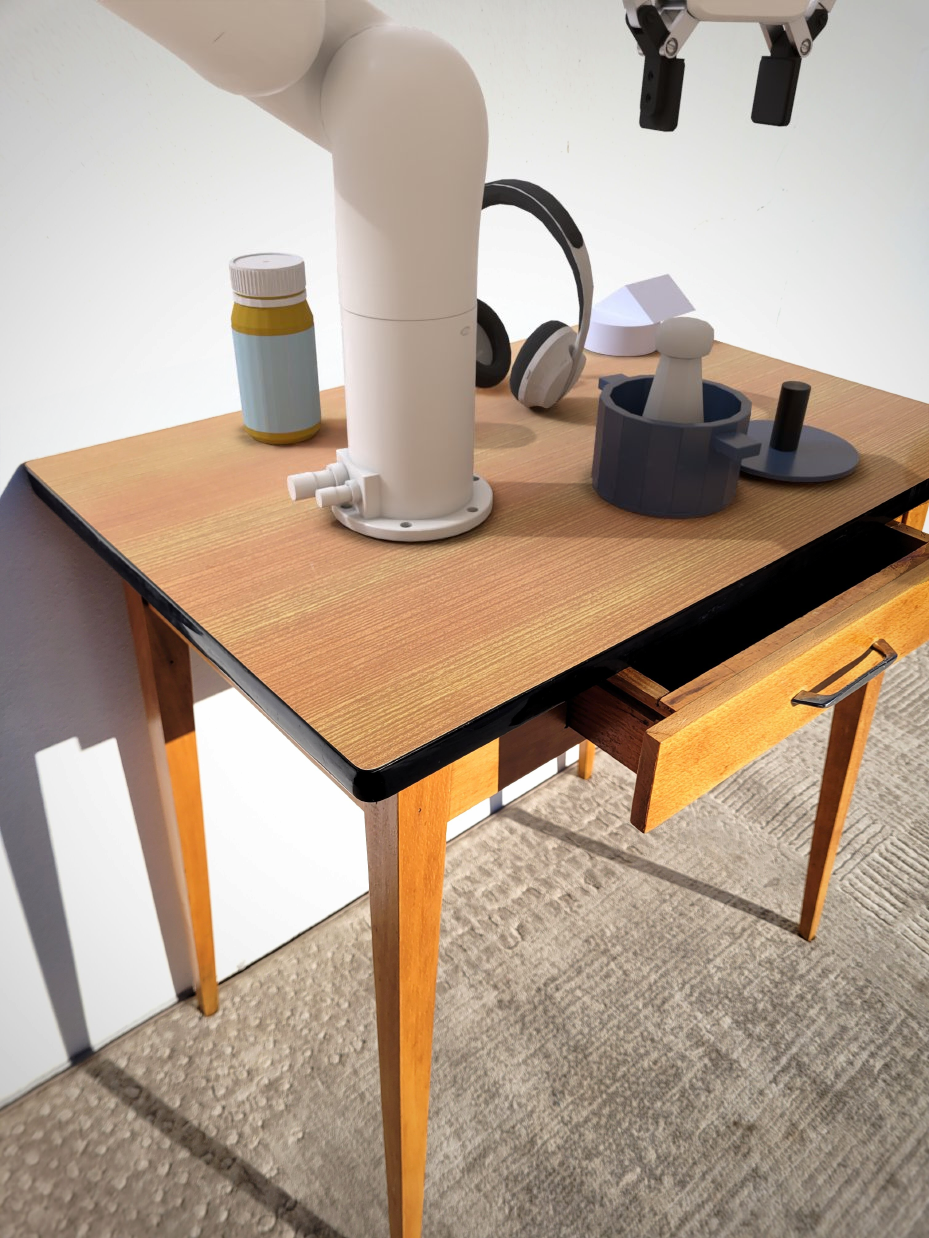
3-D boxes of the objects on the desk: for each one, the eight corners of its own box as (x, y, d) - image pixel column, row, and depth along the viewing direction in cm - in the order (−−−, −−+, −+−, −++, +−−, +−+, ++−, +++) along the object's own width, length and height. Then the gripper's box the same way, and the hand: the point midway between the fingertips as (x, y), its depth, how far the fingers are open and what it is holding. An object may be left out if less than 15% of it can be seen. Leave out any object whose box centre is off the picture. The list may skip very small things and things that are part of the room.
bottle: (302, 412, 89) (287, 248, 80) (335, 436, 84) (323, 264, 75) (233, 426, 85) (211, 256, 77) (263, 452, 81) (242, 274, 72)
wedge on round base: (631, 322, 116) (564, 343, 108) (637, 267, 112) (569, 284, 105) (691, 338, 111) (626, 361, 103) (700, 280, 107) (633, 300, 99)
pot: (672, 546, 67) (688, 450, 63) (547, 461, 80) (553, 377, 76) (789, 514, 72) (810, 423, 68) (654, 438, 85) (665, 357, 80)
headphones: (606, 411, 90) (629, 188, 79) (549, 434, 85) (565, 199, 74) (467, 365, 101) (470, 164, 90) (410, 382, 96) (406, 172, 85)
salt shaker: (696, 468, 78) (722, 312, 71) (704, 498, 73) (733, 333, 66) (626, 464, 78) (645, 309, 71) (630, 493, 74) (650, 330, 66)
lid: (779, 500, 74) (797, 422, 70) (678, 445, 83) (689, 373, 80) (888, 471, 79) (909, 397, 76) (781, 422, 88) (796, 354, 85)
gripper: (825, -189, 58) (771, 118, 68) (600, -221, 51) (575, 126, 61) (924, -208, 53) (850, 128, 62) (688, -247, 46) (646, 138, 55)
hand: (715, 127), depth 61 cm, fingers open, 9 cm apart
